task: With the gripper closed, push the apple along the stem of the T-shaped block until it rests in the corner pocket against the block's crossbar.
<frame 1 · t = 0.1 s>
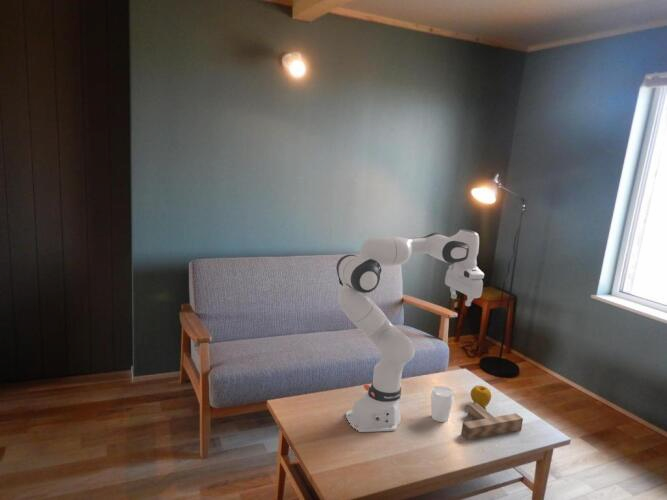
hand: (460, 301, 188), 48 cm above the table, tool pointing down, fingers open, 8 cm apart
cup: (439, 418, 189), on the table
t block: (483, 424, 186), on the table
apple: (479, 405, 201), on the table
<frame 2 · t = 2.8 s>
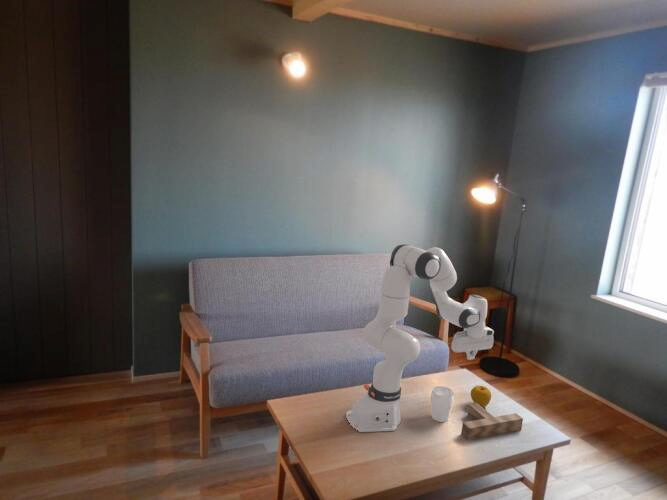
hand: (470, 359, 207), 17 cm above the table, tool pointing down, fingers closed
nothing on the table moved.
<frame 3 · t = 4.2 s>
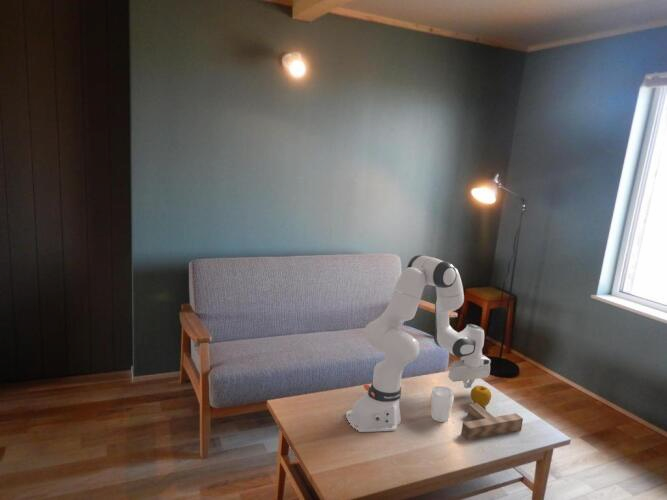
hand: (467, 387, 209), 4 cm above the table, tool pointing down, fingers closed
nothing on the table moved.
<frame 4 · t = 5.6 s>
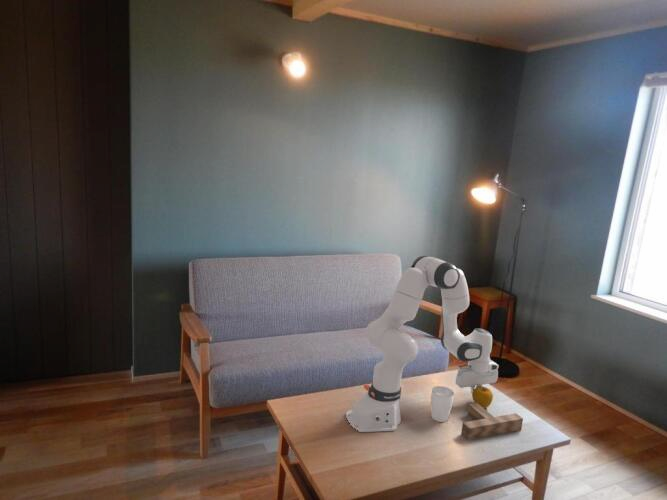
hand: (474, 393, 204), 4 cm above the table, tool pointing down, fingers closed, pressing on apple
apple: (480, 406, 200), on the table, touching gripper
everything else where it was.
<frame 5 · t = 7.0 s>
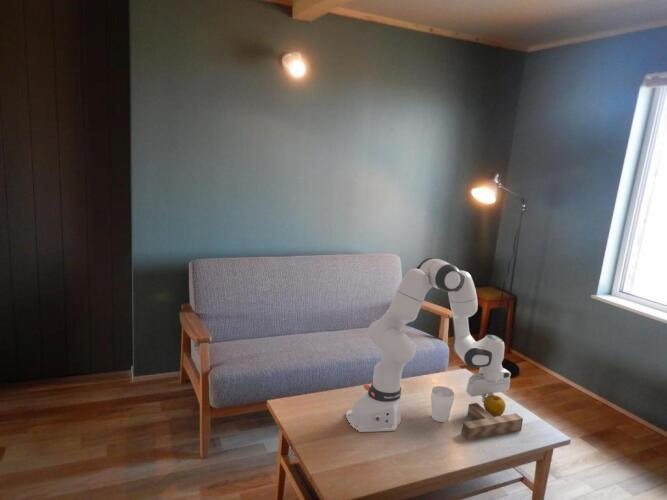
hand: (486, 401, 197), 4 cm above the table, tool pointing down, fingers closed, pressing on apple
apple: (492, 416, 193), on the table, touching gripper
everything else where it was.
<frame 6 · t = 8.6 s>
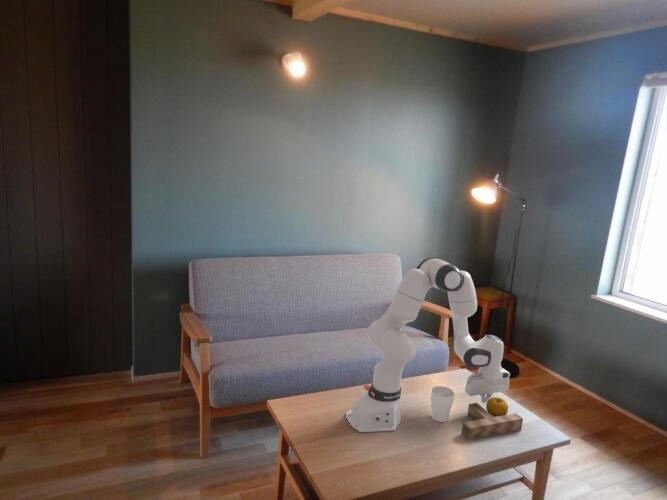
hand: (484, 401, 197), 4 cm above the table, tool pointing down, fingers closed
apple: (495, 418, 192), on the table
everything else where it was.
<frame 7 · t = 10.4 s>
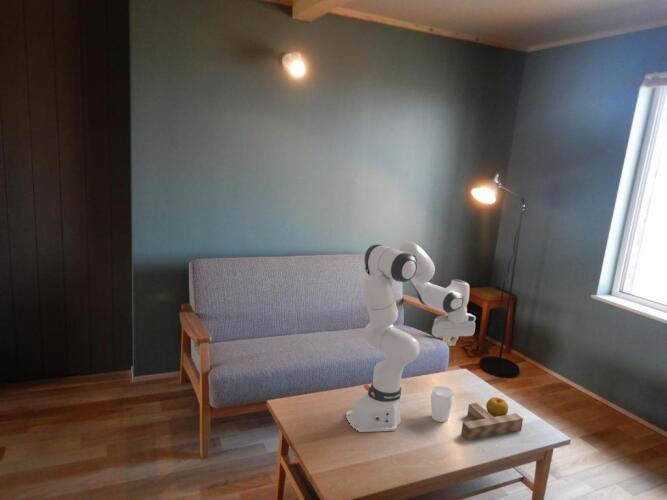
hand: (451, 345, 203), 24 cm above the table, tool pointing down, fingers closed
nothing on the table moved.
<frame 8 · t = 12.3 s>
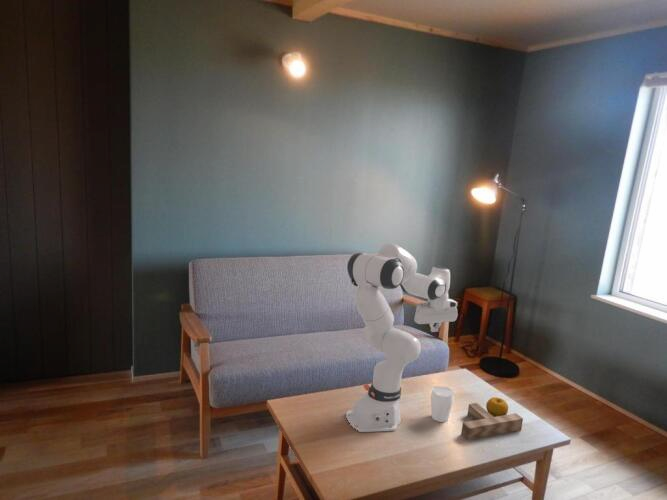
hand: (434, 331, 205), 29 cm above the table, tool pointing down, fingers closed
nothing on the table moved.
at the end: apple inside the target area (0.7 cm from its centre), on the table; apple moved 10.3 cm from its start; the gripper is holding nothing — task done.
